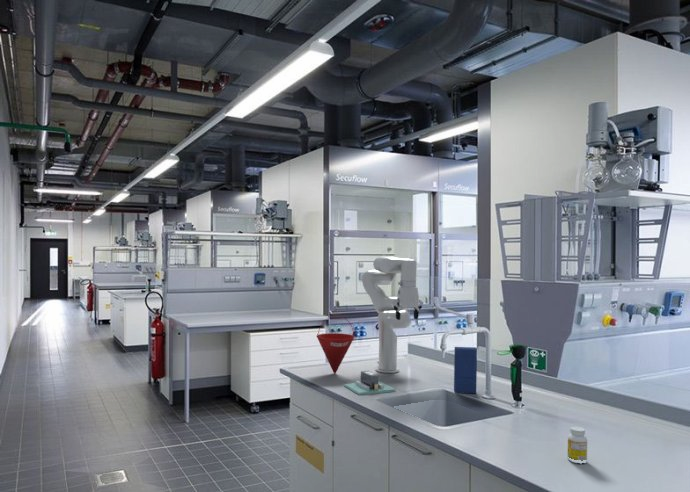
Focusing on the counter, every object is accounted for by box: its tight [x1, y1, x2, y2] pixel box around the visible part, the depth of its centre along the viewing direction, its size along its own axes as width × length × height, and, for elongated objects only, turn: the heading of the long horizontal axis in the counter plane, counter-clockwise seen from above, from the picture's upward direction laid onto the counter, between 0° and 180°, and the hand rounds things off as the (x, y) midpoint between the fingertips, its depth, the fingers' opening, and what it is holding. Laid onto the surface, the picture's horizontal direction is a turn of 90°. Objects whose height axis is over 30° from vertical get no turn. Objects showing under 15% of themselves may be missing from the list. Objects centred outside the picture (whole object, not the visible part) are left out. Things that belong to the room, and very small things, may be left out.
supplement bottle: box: [567, 426, 588, 461], centre depth 152 cm, size 5×5×10 cm
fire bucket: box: [316, 314, 356, 374], centre depth 260 cm, size 22×20×30 cm
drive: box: [360, 370, 380, 390], centre depth 231 cm, size 10×4×6 cm, turn 24°
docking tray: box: [343, 380, 396, 396], centre depth 231 cm, size 16×18×4 cm
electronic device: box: [453, 346, 478, 395], centre depth 229 cm, size 10×5×20 cm, turn 84°
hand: (407, 319), depth 249 cm, fingers open, 9 cm apart
